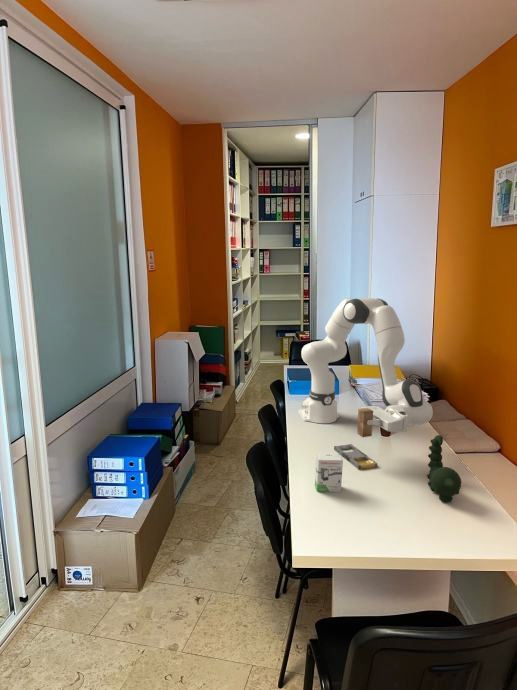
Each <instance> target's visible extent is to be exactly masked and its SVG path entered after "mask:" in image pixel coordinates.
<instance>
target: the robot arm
mask: <svg viewBox="0 0 517 690" xmlns="http://www.w3.org/2000/svg"><path fill="white" fill-rule="evenodd" d="M356 324H357V325H358V324H359V325H368V324H370V325H371V326H372V328H373V332H374V335H375V339H376V343H377V361H378V362H377V363H378V368H379V374H380V379H381V384H382V392H381V393H382V395H381V396H382V401H383V404H384V405H385V406H386V408H385V409H384V408H383V407H380V406H377V405H370V406H369V405H368V406H367V405H366V406H362V407H361V408H369V409H371V410H372V411H373V420H371V419H367V420H366V424H368V425H372V426H377V427H380V428H382V429H383V430H385V431H386V432H390V433H396V432H404V433H406V432H408V428H409V427H415V426H422V425H426V424H427V423H428V422H430V421H431V420H432V418H433V415H434V411H433V406H432V405H431V404H430V403H429V402H428V401H427V400H426V398H425V396H424V394H423V391H422V387H421V386H420V384H419V383H418V382H417V381H415V380H414V379H411V378H408V379H405V380H403V381H400V382H398V380H397V374H396V373H397V372H396V369H395V362H396V358H397V357H398V354H399V353H400V352H401V351H402V350H403V347H404V345H405V342H406V341H405V334H404V330H403V327H402V323H401V321H400V319H399V317H398V314H397V312H396V310H395V309H394V308H393V307H392V306H390V305H389V304H388V303H387V301H386V300H384V299H381V298H372V297H371V298H370V297H364V298H363V297H361V298H345V299H343V300H342V301H341V302H340V303H339V305H337V307H336V308H335V309H334V311H333V313H332V314H331V316H330V317H329V319H328V321H327V323H326V325H325V326H324V331H325V334H326V337H325V338H323V340H318V341H316V340H315V341H312V342H310V343H307V344H305V345H303V347H302V348H301V351H300V352H301V359H302V360H303V362H304V363H305V364H307V366H308V368H309V371H310V374H311V378H310V379H311V384H310V386H311V387H310V388H311V389H310V390H309V396H308V397H307V398H306V399H304V400H303V402H302V404H301V408H299V409H298V410H297V413H298V414H299V415H300V417H301V419H302V420H303V421H304V422H311V423H316V424H332V423H334V422H337V419H339V418H340V415H339V414H338V405H337V404H338V402H337V400H336V391H335V385H336V383H335V382H336V381H335V380H336V377H335V374H334V373H333V372H332V371H331V370H330V368H329V363H334V362H338V361H340V360H342V359H344V358H345V357H346V355H347V351H348V348H347V344H346V341H347V338H348V337H349V335H350V333H351V332H352V330H353V328H354V326H355V325H356Z"/></svg>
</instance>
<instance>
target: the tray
mask: <svg viewBox="0 0 517 690" xmlns="http://www.w3.org/2000/svg"><path fill="white" fill-rule="evenodd" d="M333 450H334V451H335V452H336V454H339V455H341V457H342V458H344V459H345V460H346V461H347V462H349V463H350V464H351V465H352V466H353V467H355V468H356V470H366V469H373V468H378V462H376V461H375V460H373V458H370V457H369V456H368V455H367V454H365V453H364V452H363V451H362V450H360V449H358V448H357V447H356V446H354V445H353V444H352V443H350V444H342V445H334V446H333ZM344 450H351V451H344Z"/></svg>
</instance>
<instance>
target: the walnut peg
mask: <svg viewBox="0 0 517 690" xmlns="http://www.w3.org/2000/svg"><path fill="white" fill-rule="evenodd" d="M357 412H358V413H357V428H356V433H357V435H359V437H361V438H367V437H372V436H373V425H368V424H366V420H367V419H371V420H373V411H372V410H371V409H369V408H362V407H360V408H358V410H357Z"/></svg>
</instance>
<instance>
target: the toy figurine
mask: <svg viewBox="0 0 517 690" xmlns="http://www.w3.org/2000/svg"><path fill="white" fill-rule="evenodd" d="M430 443H431V445H430V446H428V450H429V451H430V452H431V453H428V455H427V456H428V457H427V458H429V459H430V461H429V462H428V464H427V467H428V468H430V469H429V471H428V472H429V473H428V474H427V475H426V477H427V479H428V480H429V481H428V482H427V485H428V487H429V489H430V491H432V492H433V493H434V492H436V494H437V495H439V496H438V499H439V501H441V502H443V503H451V502H452V501H453V499H454V498H453V496H456V495H459V494H460V489H461V488H462V479H461V477H460V475H459V473H458V472H457V471H456V470H455V469H453V468H451V467H447V466H445V467H444V464H443V454H442V453H443V447H442V445H443V443H444V437H443V435H440V434H438V435H436V436H435V437H433V439H430Z"/></svg>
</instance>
